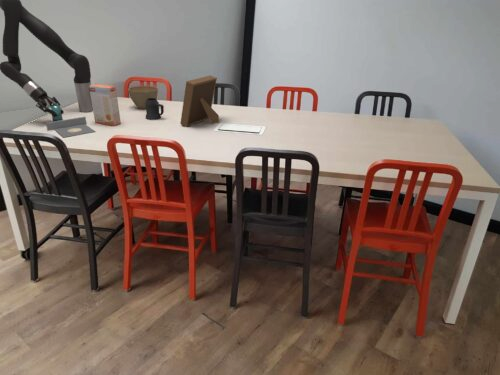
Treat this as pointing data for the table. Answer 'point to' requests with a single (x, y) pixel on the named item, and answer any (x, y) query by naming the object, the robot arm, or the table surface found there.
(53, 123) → the low wall
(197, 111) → the photo frame
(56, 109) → the tin
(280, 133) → the table surface
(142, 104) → the flower pot
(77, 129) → the mat
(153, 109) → the mug
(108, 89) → the cracker box
